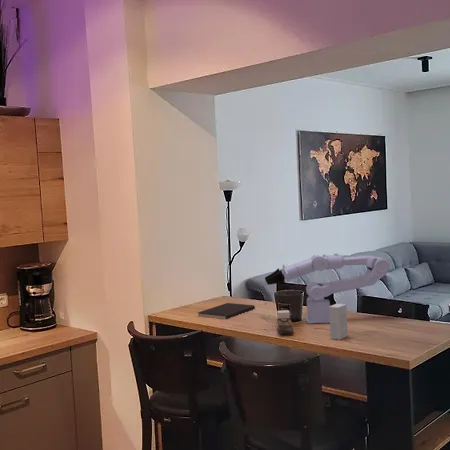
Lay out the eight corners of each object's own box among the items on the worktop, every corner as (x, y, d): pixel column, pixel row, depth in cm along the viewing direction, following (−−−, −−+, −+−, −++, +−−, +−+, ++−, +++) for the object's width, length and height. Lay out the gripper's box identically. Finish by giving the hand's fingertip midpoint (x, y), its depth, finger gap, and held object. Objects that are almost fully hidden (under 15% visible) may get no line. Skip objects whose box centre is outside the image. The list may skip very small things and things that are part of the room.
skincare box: (337, 334, 218) (336, 303, 217) (348, 336, 215) (346, 304, 214) (329, 338, 213) (328, 306, 212) (340, 340, 210) (338, 307, 209)
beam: (291, 326, 234) (290, 316, 234) (294, 335, 220) (293, 324, 220) (276, 327, 234) (275, 317, 234) (278, 336, 220) (277, 325, 220)
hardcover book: (197, 317, 263) (197, 312, 263) (227, 307, 281) (227, 302, 281) (226, 320, 253) (226, 315, 253) (255, 310, 272) (254, 305, 272)
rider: (289, 318, 234) (288, 310, 234) (289, 320, 230) (289, 312, 230) (277, 318, 234) (277, 310, 234) (278, 321, 230) (277, 312, 230)
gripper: (292, 259, 247) (261, 270, 247) (296, 262, 232) (264, 273, 232) (297, 275, 247) (267, 286, 247) (301, 279, 232) (269, 290, 233)
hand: (266, 281), depth 240 cm, fingers open, 7 cm apart
